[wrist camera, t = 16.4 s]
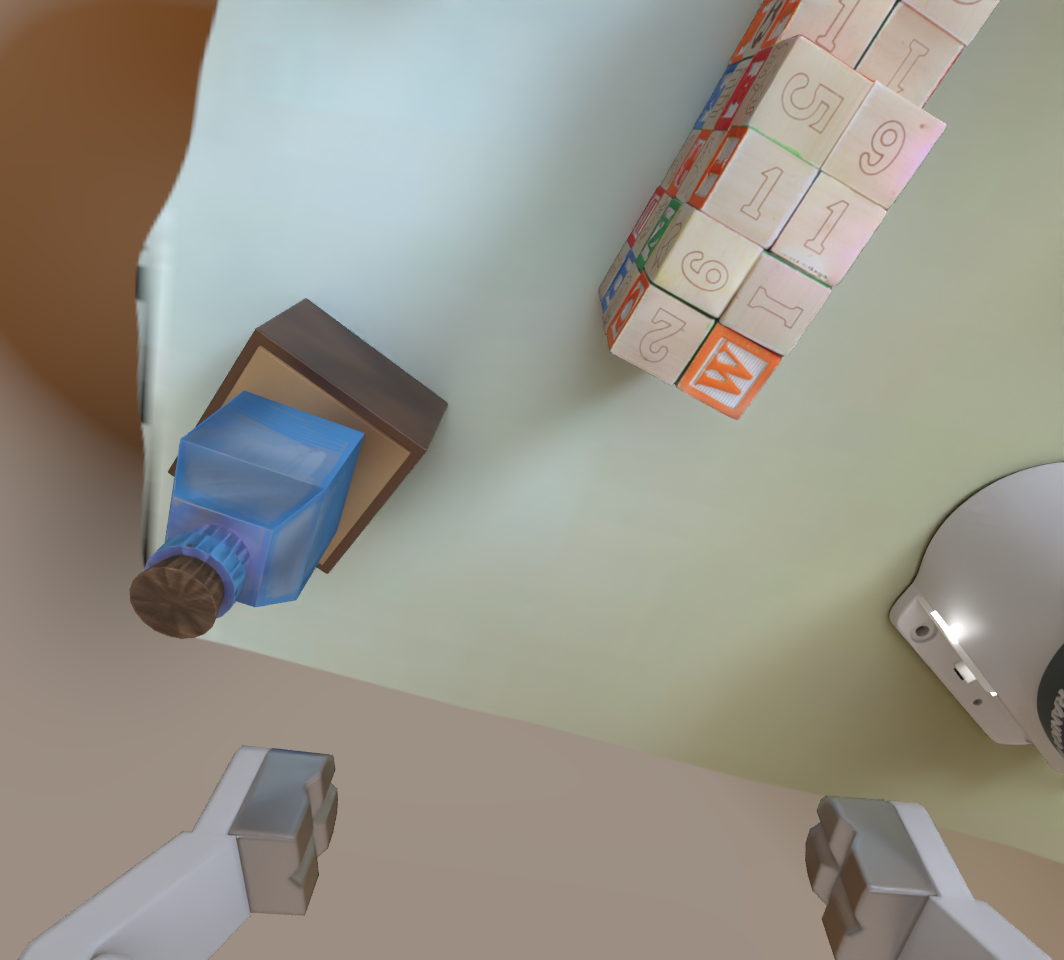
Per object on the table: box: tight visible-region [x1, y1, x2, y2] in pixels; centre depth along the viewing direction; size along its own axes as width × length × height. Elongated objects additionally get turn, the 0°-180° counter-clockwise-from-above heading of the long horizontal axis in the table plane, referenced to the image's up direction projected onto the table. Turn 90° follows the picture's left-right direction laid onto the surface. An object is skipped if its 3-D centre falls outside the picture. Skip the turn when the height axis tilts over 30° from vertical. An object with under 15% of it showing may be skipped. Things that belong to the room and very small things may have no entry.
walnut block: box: [168, 298, 448, 574], centre depth 39 cm, size 10×10×7 cm
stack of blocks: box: [599, 0, 1000, 420], centre depth 29 cm, size 21×6×12 cm, turn 152°
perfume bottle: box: [130, 391, 365, 639], centre depth 31 cm, size 6×6×12 cm
